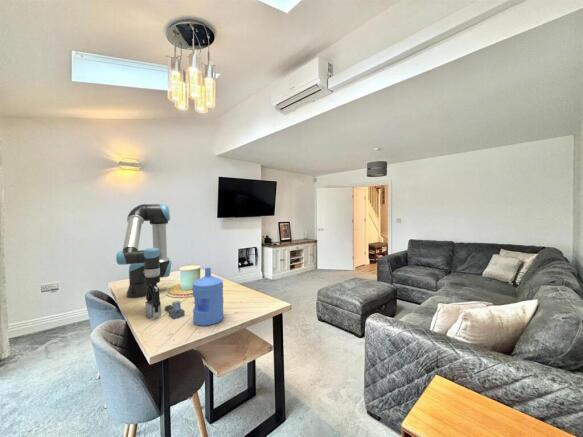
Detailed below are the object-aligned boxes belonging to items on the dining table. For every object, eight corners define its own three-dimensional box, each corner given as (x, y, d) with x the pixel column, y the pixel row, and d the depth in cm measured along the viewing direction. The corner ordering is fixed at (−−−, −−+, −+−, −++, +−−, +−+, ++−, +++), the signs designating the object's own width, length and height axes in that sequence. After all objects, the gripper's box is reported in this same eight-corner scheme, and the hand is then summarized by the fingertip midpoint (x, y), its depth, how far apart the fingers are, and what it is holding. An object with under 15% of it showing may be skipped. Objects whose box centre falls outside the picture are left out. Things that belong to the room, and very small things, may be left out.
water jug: (215, 311, 143) (214, 264, 142) (228, 319, 131) (228, 268, 130) (188, 319, 132) (187, 268, 131) (200, 329, 120) (199, 273, 120)
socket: (145, 315, 137) (145, 301, 137) (157, 312, 141) (156, 298, 141) (149, 318, 133) (148, 304, 133) (160, 315, 137) (160, 301, 137)
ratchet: (162, 310, 144) (162, 297, 144) (173, 307, 148) (172, 294, 148) (173, 319, 132) (173, 304, 132) (184, 315, 136) (184, 301, 136)
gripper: (139, 273, 141) (140, 312, 142) (151, 280, 126) (152, 323, 127) (153, 271, 147) (154, 308, 147) (166, 277, 132) (167, 318, 132)
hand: (153, 315), depth 137 cm, fingers open, 9 cm apart
